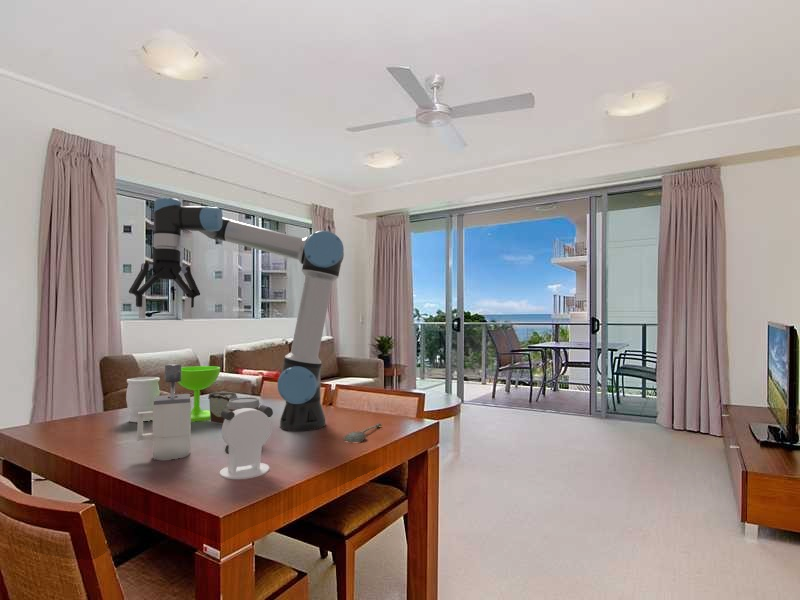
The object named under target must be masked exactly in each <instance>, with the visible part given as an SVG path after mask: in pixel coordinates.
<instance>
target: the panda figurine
mask: <svg viewBox="0 0 800 600" xmlns="http://www.w3.org/2000/svg"><path fill="white" fill-rule="evenodd" d="M273 410H274V409H272V408H271V407H269V406H267V405H264V404H260V405H259V407H258V410H256V409H252V408H242V409H238V410H235V411H233V412H232V411H229V410H223V411H222V413H221V417H222V418H225V420H224V422H223V424H222V425H221V433H220V434H221V439H222V440H223V442H224V443H225V444H226V446H225V448H224V452H225V453H226V454H227V455H228V458H227V459H228V460H227V466H225V467H223V468H222V469H220V471H219V475H220V477H222V478H224V479H228V480H246V479H247V480H248V479H253V478H257V477H260V476H264V475H265V474H267V473H268V472H269V471H270V465H269V464H267V463H264V462H261V459H262V449H263V445H265V444H266V443H267V441H268V440H269V438H270V437H271V434H272V430H273V429H272V423H271V419H270V418H271V417H272V416H273V414H274V411H273Z"/></svg>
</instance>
